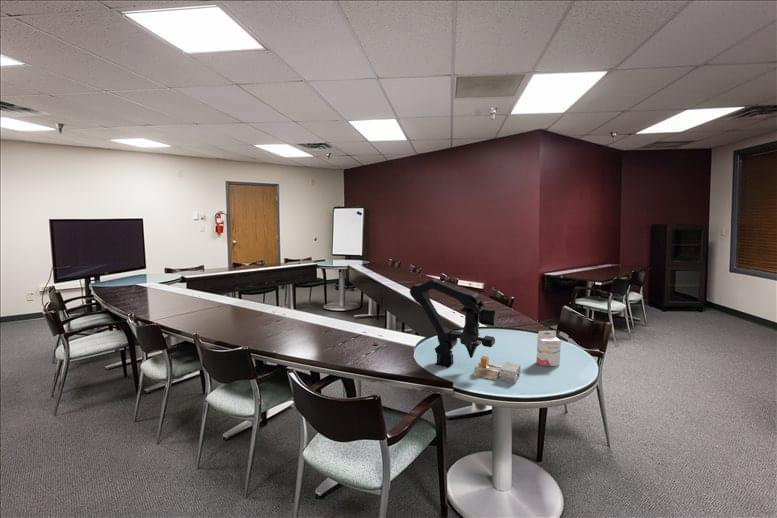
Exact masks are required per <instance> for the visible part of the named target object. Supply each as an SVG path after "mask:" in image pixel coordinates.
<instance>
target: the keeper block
mask: <svg viewBox="0 0 777 518" xmlns="http://www.w3.org/2000/svg"><path fill="white" fill-rule="evenodd" d="M520 377H521V364H520V363H515V362H509V361H505V362H504V363H503V365H502V366H501V373H500V376H499V378H500V380H502V381H501V382H505V381H506V382H505V383H509V382H511V383H510V384H514V383H515V384H514V385H516V384H517V382H518V381H519V378H520ZM517 380H518V381H517Z"/></svg>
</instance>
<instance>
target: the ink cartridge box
mask: <svg viewBox="0 0 777 518" xmlns="http://www.w3.org/2000/svg"><path fill="white" fill-rule="evenodd" d="M536 340H537V343H536V345H537V346H536V363H537V364H538V365H539V366H540V367H559V366H560V365H561V364H560V361H561V350H562V349H561V345H562V344H561V343H562V341H561V339H559V338H558V337H557V330H539V331H538V335H537V339H536Z"/></svg>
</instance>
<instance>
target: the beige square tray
mask: <svg viewBox="0 0 777 518" xmlns="http://www.w3.org/2000/svg"><path fill="white" fill-rule="evenodd" d="M489 366H491V367H496V368H502V366H501V365H495V364H492V363H489ZM473 375H474V377H477V376H479V377H478V378H482V377H483V379H486V378H488V379H487V380H491V379H492V380H491V381H495V380H496V381H497V380H498V379H499V378H500V376H499V374H498V370H493V369H488V368H483V367H481V361H479V362H478V366H477V365H475V366H474V372H473V373H472V376H473Z"/></svg>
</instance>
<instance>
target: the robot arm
mask: <svg viewBox="0 0 777 518" xmlns="http://www.w3.org/2000/svg"><path fill="white" fill-rule="evenodd" d="M430 290H435V291H437V292H439V293H441V294H443V295H446V296H449V298H450V297H451V298H452V299H455V300H457V301H458V302H459V303H460V304H461V305H462V308H461V309H459V311H460V312H462V313H464V325H463V329H462V330H461V331H459V330H454V329H453V328H451V329H449V328H448V327H447V326H446V324H445V323H444V321H443V319H442V318H441V316H440V315H439V312H438V311H437V310H436V307H435V305H434V304H433V302H432V301H431V298H430V292H429V291H430ZM409 294H410V296H411V298H412V299H414V301H415V302H416V303H417V304H419V305H420V306H421V307H422V310H423V311H424V313H425V314H426V317H427V318H428V320H429V321H430V323H431V325H432V326H433V329H434V330H435V332H436V334H437V341H438V345H437V346H436V347H435V348H434V351H435V354H436V362H435V363H434V364H435V365H434V366H438V367H443V368H450V367H451V366H452V365H453V364H454V363H455V362H454V354H453V349H454V347H455V346H456V345H458V339H459V341H460V344H461V345H464V347H466V350H467V353H468V356H469V358H470V359H472V358H473V356H474V354H475V352H476V350H477V347H479V346H480V345H482V346H483V347H486V348H487V347H488V348H492V347H493V346H494V345H495V344H496V338H495V337H494V336H491V335H490V336H489V335H485V336H483V337H481V336H480V332H479V329H480V324H481V325H484V326H489V327H490V326H491V327H496V326H497V324H498V320H499V319H498V318H499V316H498V313H497V309H494V308H491V309H490V308H486V305H485V303H484V302H483V301H482V298H481V295H480V294H479V293H477V292H474V291H472V290H464V289H460V288H457V287H455V286H453V285H452V284H451V285H450V284H448V283H446V282H443V281H441V280H439V279H438V278H432V279H430V280H428V281H427V282H425V283H421V282H420V283H417V284H414V285H412V286H411V287H410V289H409Z"/></svg>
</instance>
